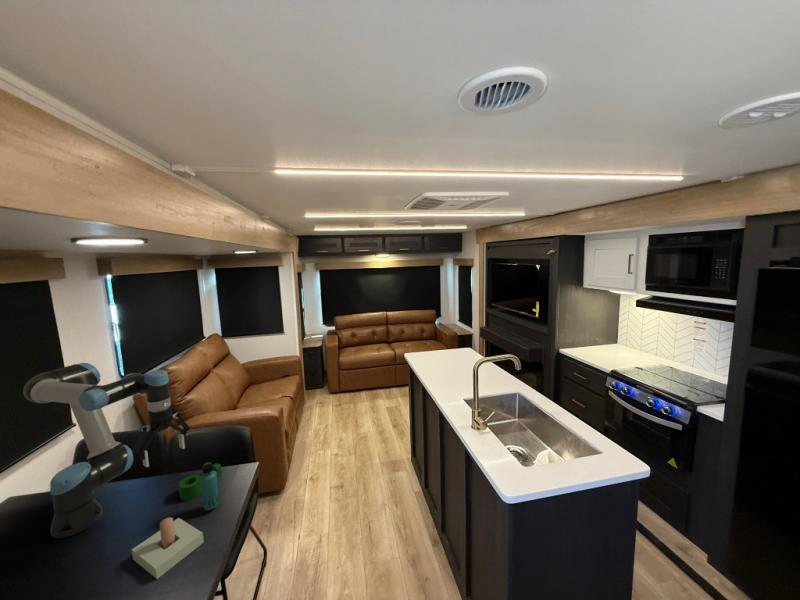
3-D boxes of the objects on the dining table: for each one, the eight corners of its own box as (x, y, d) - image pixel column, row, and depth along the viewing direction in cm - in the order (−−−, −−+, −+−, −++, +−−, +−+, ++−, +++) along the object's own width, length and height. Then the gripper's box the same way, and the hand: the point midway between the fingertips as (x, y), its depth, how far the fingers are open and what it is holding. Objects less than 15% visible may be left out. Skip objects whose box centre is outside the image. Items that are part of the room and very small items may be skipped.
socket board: (133, 559, 116) (131, 549, 115) (179, 526, 130) (178, 517, 129) (157, 579, 109) (155, 568, 108) (203, 542, 123) (202, 532, 122)
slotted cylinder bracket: (191, 502, 143) (189, 489, 142) (174, 499, 145) (173, 486, 144) (221, 476, 161) (220, 464, 160) (207, 473, 163) (205, 461, 162)
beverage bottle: (207, 516, 135) (203, 472, 133) (199, 509, 139) (195, 467, 136) (223, 506, 141) (219, 464, 138) (214, 500, 144) (211, 459, 142)
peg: (160, 552, 118) (157, 523, 117) (172, 544, 122) (169, 515, 120) (166, 557, 117) (163, 527, 115) (178, 548, 120) (175, 519, 119)
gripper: (127, 424, 117) (134, 477, 120) (196, 398, 139) (200, 443, 142) (117, 420, 121) (124, 471, 123) (186, 395, 143) (190, 439, 145)
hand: (165, 456), depth 133 cm, fingers open, 13 cm apart
